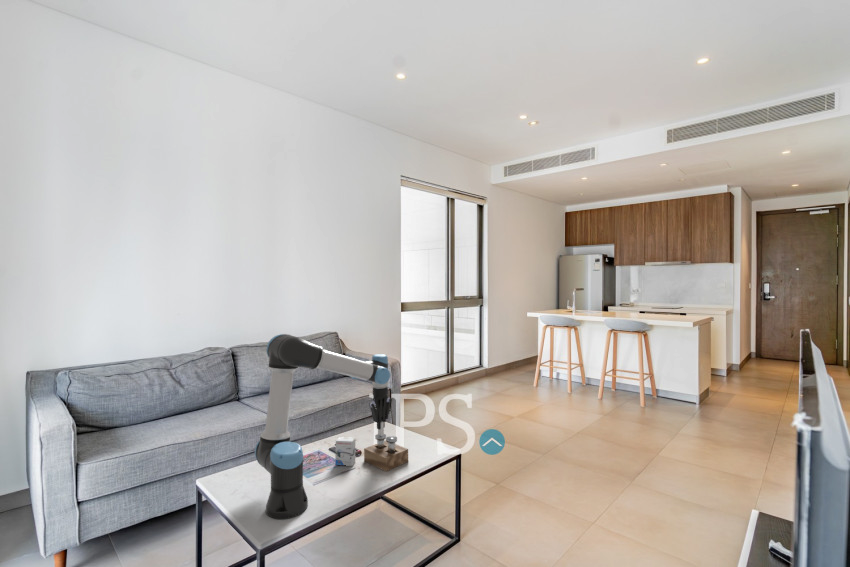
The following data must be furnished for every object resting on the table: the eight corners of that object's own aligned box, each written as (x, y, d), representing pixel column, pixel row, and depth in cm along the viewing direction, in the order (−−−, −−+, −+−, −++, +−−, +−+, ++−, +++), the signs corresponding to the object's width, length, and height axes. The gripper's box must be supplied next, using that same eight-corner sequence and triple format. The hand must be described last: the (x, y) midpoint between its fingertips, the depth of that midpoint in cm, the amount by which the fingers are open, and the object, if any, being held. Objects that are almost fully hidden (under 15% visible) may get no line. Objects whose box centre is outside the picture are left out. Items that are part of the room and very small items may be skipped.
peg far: (380, 452, 199) (379, 438, 199) (373, 449, 203) (373, 435, 203) (388, 449, 203) (388, 435, 203) (381, 446, 206) (381, 432, 206)
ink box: (334, 465, 195) (334, 440, 195) (338, 461, 200) (338, 436, 200) (352, 466, 195) (352, 441, 194) (355, 461, 200) (355, 437, 200)
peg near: (391, 455, 193) (391, 441, 193) (383, 452, 197) (383, 438, 197) (399, 452, 197) (399, 438, 197) (392, 449, 201) (392, 435, 201)
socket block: (386, 471, 189) (385, 458, 189) (364, 460, 200) (364, 448, 200) (408, 461, 199) (408, 449, 199) (386, 452, 211) (386, 440, 210)
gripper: (374, 390, 195) (375, 440, 195) (395, 385, 205) (396, 433, 205) (364, 387, 200) (365, 436, 201) (385, 382, 210) (386, 429, 210)
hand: (380, 435), depth 203 cm, fingers closed
